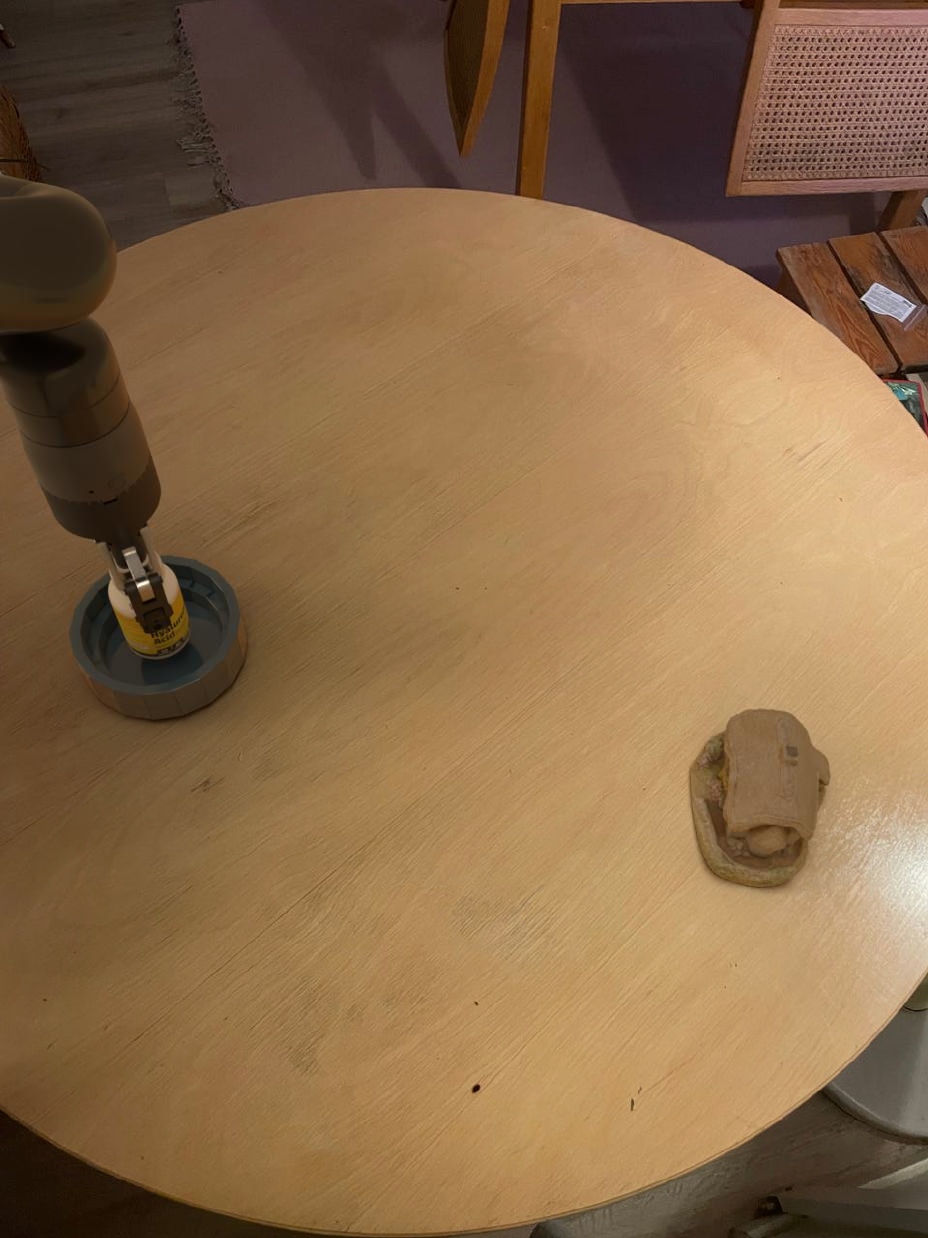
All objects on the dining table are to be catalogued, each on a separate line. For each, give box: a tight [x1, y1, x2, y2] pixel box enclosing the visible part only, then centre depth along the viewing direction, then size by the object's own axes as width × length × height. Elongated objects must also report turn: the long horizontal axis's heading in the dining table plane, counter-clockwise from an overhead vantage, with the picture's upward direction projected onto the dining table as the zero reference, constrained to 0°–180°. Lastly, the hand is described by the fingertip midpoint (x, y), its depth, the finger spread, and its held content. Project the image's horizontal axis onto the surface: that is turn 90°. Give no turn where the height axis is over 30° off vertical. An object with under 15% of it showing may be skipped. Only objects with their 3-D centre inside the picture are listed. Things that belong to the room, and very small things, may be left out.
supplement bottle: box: [108, 551, 191, 659], centre depth 84 cm, size 5×5×10 cm
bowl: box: [68, 554, 248, 720], centre depth 89 cm, size 14×14×5 cm
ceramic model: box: [689, 708, 832, 888], centre depth 81 cm, size 14×11×10 cm
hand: (145, 598), depth 83 cm, fingers closed on supplement bottle, 5 cm apart
